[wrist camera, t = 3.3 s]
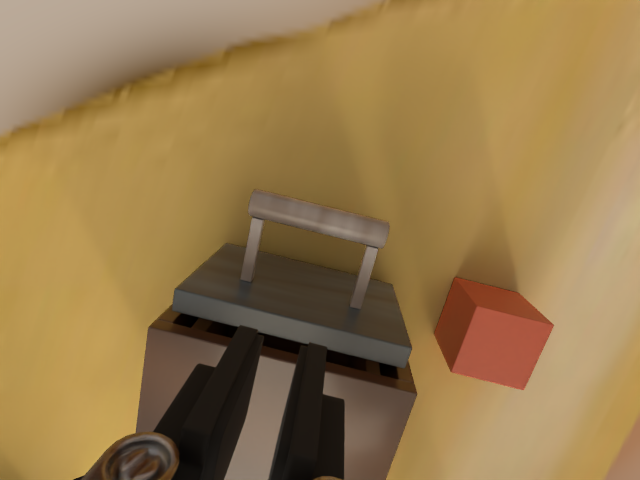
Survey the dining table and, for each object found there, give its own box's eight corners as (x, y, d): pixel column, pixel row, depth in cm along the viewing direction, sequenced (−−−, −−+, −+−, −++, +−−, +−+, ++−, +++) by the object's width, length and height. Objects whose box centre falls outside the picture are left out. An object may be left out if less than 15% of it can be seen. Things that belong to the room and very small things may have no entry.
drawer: (238, 169, 23) (188, 185, 16) (415, 213, 23) (447, 250, 16) (197, 406, 29) (144, 503, 21) (342, 443, 29) (340, 552, 21)
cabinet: (217, 259, 26) (147, 326, 17) (392, 302, 26) (417, 394, 17) (189, 425, 30) (120, 553, 21) (341, 463, 30) (338, 607, 21)
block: (519, 292, 25) (554, 325, 21) (495, 349, 27) (524, 391, 22) (454, 276, 25) (476, 305, 21) (433, 334, 27) (450, 372, 22)
